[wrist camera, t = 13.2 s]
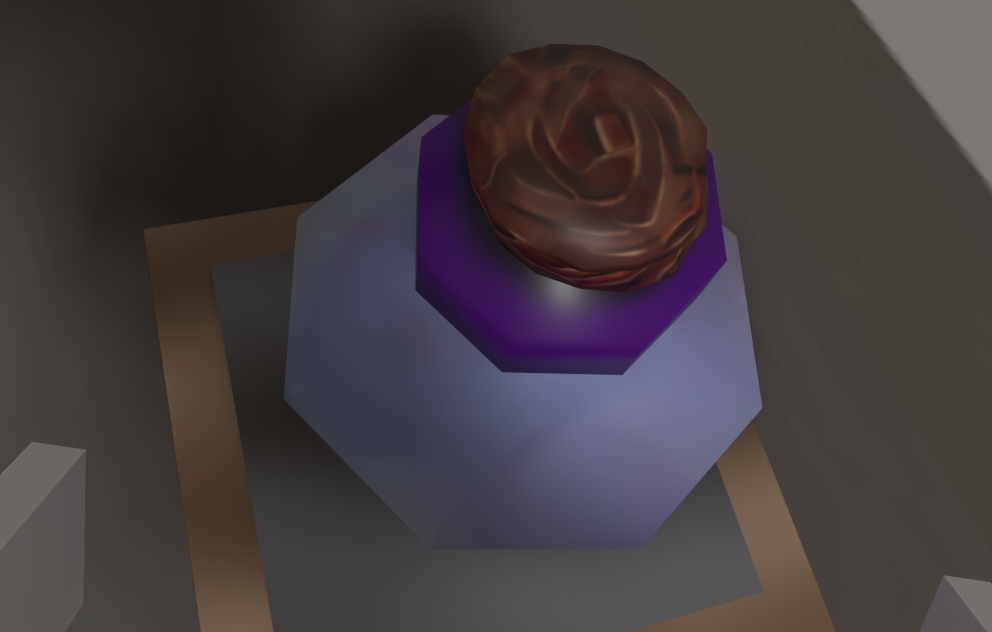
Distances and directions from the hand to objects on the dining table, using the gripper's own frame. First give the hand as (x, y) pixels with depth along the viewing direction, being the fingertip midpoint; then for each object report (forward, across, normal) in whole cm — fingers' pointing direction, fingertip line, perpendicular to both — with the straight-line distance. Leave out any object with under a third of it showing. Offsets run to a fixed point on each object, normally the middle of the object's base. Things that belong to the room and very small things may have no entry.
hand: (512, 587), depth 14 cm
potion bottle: (+8, 0, -2) cm, 8 cm away
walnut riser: (+11, 0, -4) cm, 12 cm away
